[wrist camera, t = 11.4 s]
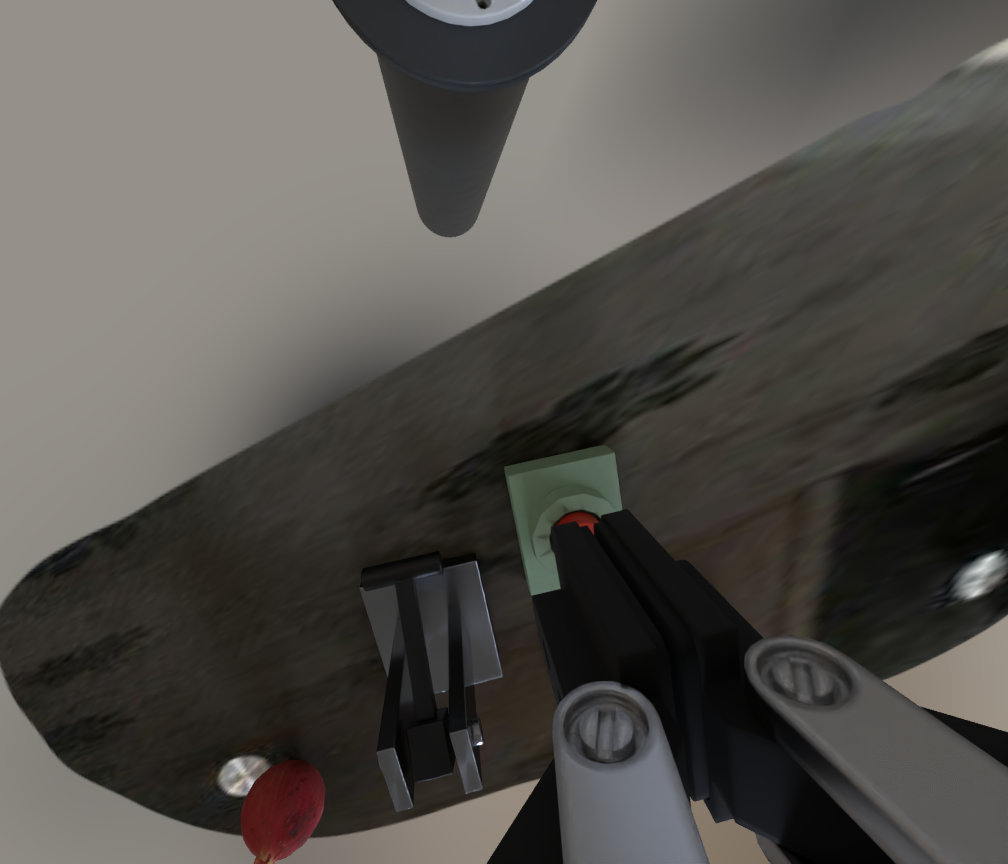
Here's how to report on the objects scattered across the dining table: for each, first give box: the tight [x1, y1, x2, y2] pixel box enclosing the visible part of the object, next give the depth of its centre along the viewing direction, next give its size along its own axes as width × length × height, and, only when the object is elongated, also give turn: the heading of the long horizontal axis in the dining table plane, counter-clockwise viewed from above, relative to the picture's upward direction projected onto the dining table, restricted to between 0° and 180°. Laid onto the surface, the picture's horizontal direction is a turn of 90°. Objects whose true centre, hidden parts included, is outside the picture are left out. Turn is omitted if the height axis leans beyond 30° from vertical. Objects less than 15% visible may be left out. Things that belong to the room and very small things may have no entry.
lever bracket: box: [360, 553, 503, 812], centre depth 32 cm, size 11×9×13 cm
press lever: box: [361, 551, 456, 783], centre depth 29 cm, size 12×5×2 cm
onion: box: [241, 759, 325, 864], centre depth 36 cm, size 6×6×8 cm
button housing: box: [504, 445, 622, 595], centre depth 36 cm, size 10×8×4 cm
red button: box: [557, 512, 599, 534], centre depth 33 cm, size 4×4×2 cm
